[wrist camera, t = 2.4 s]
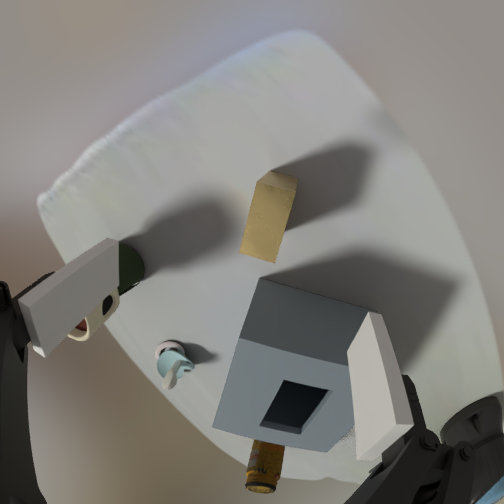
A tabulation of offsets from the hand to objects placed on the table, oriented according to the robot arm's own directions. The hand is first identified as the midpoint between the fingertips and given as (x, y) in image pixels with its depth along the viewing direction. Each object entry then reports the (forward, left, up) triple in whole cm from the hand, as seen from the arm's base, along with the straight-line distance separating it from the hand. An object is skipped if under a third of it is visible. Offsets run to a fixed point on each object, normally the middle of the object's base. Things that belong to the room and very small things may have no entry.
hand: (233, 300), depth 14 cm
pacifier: (+8, +26, -18) cm, 32 cm away
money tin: (-8, +16, -18) cm, 25 cm away
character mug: (+17, +12, -18) cm, 27 cm away
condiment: (-11, +41, -18) cm, 46 cm away
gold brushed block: (0, -1, -18) cm, 18 cm away
